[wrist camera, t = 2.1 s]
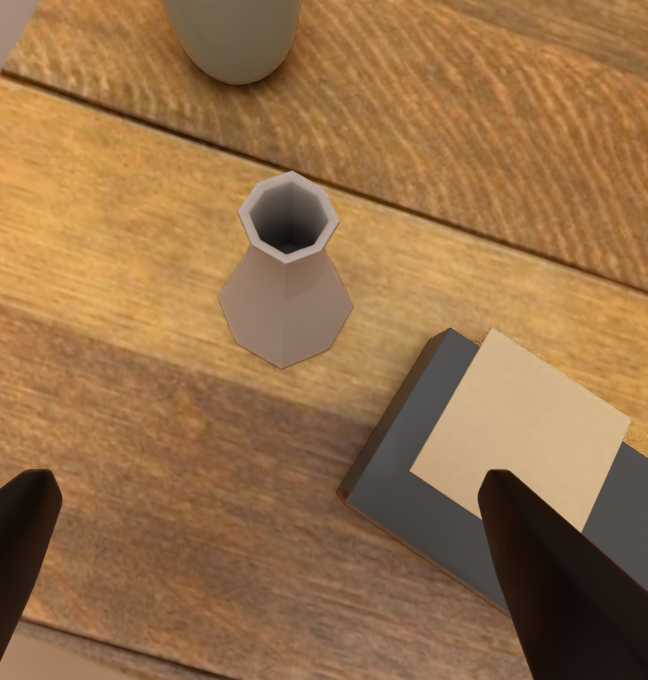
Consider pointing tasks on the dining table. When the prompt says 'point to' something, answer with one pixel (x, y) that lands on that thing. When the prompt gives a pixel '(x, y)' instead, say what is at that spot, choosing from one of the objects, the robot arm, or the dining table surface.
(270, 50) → the cup
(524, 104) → the dining table surface
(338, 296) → the octagonal bud vase
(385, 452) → the grey and beige box
